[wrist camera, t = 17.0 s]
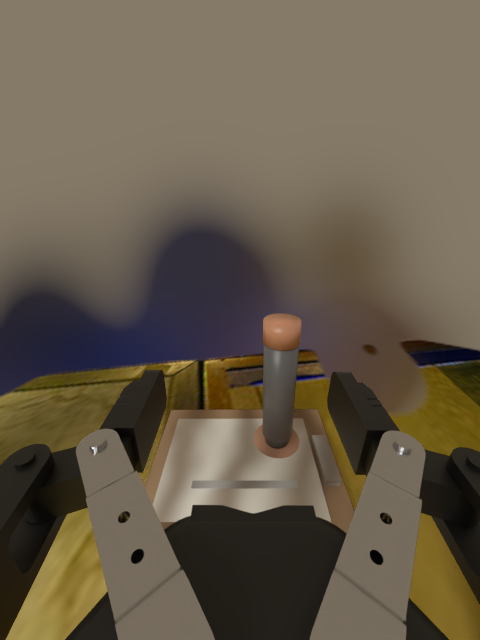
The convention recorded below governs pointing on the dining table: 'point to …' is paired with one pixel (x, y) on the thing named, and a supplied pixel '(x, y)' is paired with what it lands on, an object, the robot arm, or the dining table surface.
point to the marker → (279, 377)
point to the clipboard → (245, 466)
